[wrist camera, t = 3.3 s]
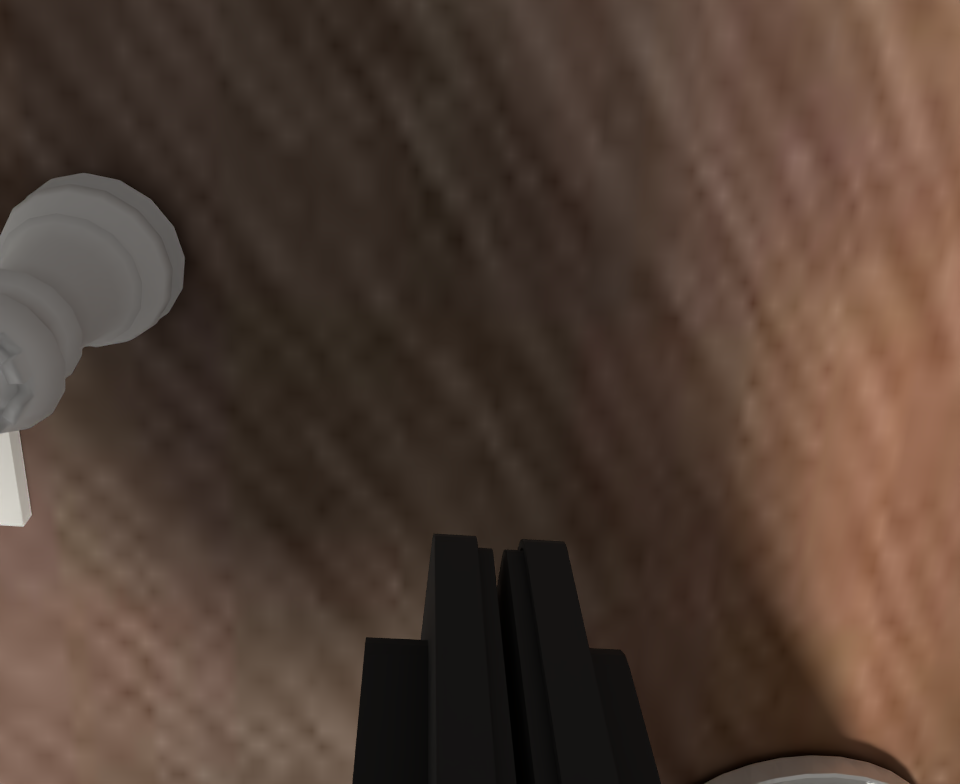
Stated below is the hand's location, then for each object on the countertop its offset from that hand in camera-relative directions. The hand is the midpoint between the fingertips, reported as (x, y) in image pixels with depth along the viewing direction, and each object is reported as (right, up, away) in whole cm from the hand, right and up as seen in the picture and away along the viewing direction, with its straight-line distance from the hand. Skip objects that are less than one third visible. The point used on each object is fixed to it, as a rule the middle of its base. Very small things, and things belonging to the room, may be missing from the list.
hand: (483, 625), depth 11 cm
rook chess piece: (-10, +7, +12) cm, 17 cm away
